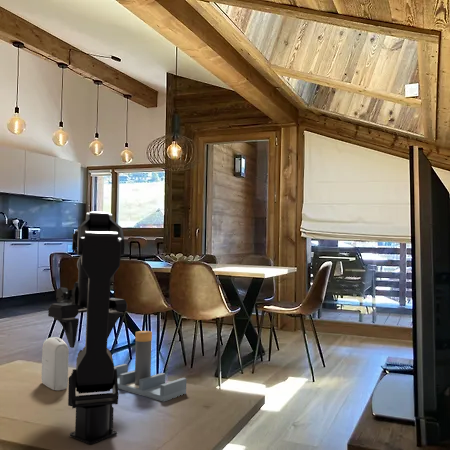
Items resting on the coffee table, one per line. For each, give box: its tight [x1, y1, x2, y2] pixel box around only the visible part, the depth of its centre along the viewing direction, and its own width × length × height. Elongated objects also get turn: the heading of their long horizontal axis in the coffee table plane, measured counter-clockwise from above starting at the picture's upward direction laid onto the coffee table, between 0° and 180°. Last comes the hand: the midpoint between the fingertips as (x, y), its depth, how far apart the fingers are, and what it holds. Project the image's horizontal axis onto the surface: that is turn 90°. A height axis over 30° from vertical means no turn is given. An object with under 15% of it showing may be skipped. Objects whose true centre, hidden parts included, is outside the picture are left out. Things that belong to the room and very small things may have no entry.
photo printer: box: [41, 336, 70, 391], centre depth 122 cm, size 10×4×12 cm, turn 39°
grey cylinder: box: [134, 330, 153, 385], centre depth 122 cm, size 4×4×13 cm
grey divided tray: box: [114, 363, 187, 402], centre depth 121 cm, size 8×23×4 cm, turn 53°
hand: (88, 344), depth 112 cm, fingers open, 9 cm apart
